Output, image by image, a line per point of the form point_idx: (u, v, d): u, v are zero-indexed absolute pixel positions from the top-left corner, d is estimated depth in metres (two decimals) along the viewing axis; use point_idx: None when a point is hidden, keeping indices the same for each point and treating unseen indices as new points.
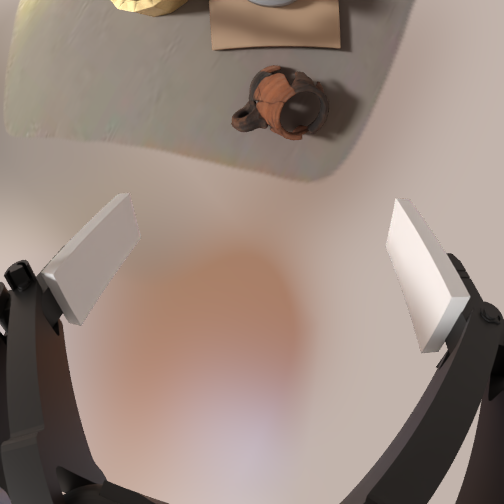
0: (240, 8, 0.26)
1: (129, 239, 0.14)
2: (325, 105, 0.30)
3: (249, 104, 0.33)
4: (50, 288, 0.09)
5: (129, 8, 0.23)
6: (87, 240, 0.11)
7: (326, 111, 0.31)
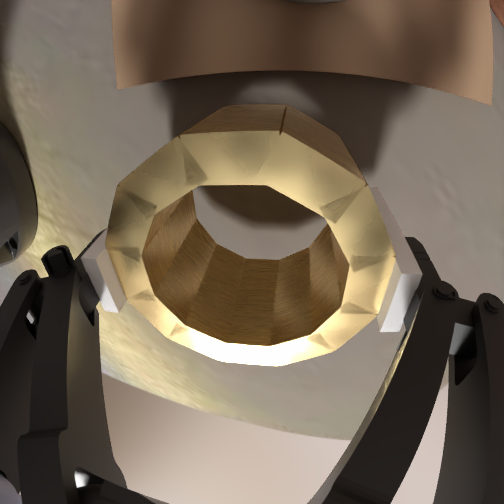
0: (400, 8, 0.08)
1: None
2: None
3: None
4: (89, 274, 0.10)
5: (355, 325, 0.10)
6: None
7: None
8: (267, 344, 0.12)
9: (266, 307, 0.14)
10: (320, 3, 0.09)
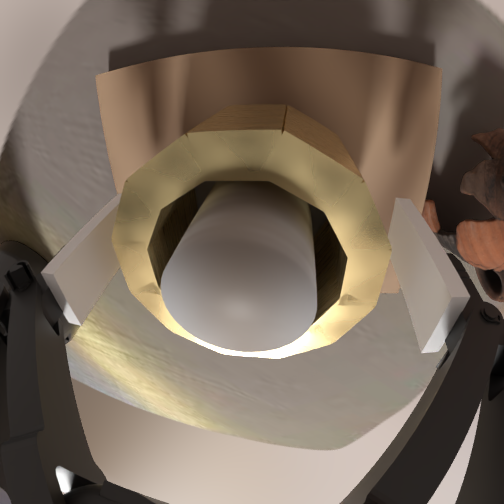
0: None
1: None
2: None
3: None
4: (50, 288, 0.09)
5: (353, 317, 0.11)
6: (87, 240, 0.11)
7: None
8: None
9: None
10: None
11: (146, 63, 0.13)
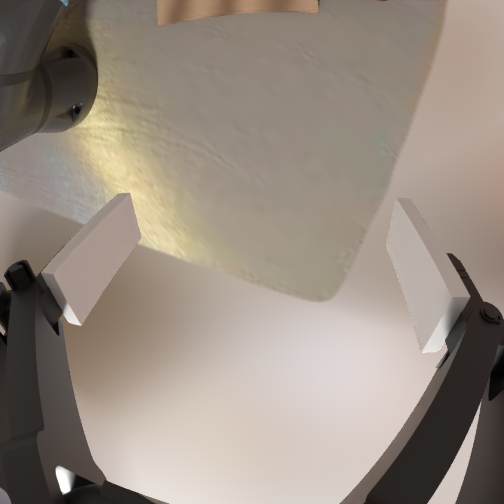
0: None
1: (129, 239, 0.14)
2: None
3: None
4: (50, 288, 0.09)
5: None
6: (87, 240, 0.11)
7: None
8: None
9: None
10: None
11: None
